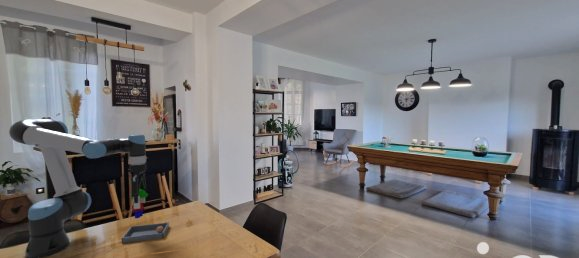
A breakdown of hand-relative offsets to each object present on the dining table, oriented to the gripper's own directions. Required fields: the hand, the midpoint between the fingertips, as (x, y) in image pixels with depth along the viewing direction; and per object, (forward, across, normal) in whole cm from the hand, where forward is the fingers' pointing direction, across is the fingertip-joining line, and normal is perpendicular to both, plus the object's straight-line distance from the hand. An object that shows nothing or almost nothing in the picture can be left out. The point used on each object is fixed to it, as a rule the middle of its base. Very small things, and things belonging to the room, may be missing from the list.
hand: (139, 205), depth 129 cm
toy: (+6, 0, 0) cm, 6 cm away
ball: (+16, 0, -9) cm, 19 cm away
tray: (+17, 0, -3) cm, 17 cm away
